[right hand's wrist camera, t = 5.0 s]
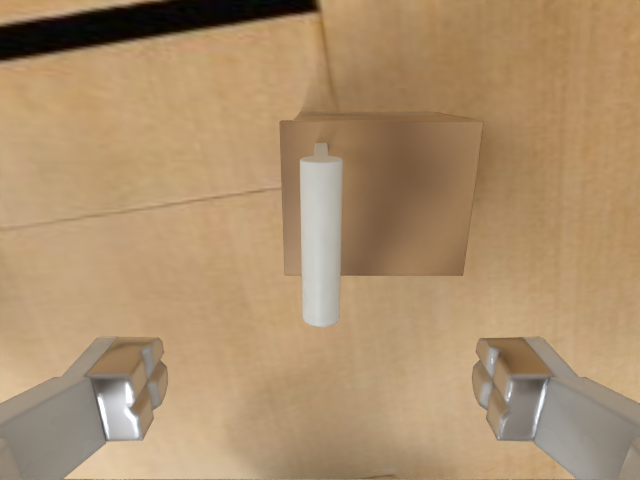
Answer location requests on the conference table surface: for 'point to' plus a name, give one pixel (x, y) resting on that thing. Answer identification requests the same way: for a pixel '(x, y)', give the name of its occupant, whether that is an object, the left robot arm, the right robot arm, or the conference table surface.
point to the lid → (374, 202)
